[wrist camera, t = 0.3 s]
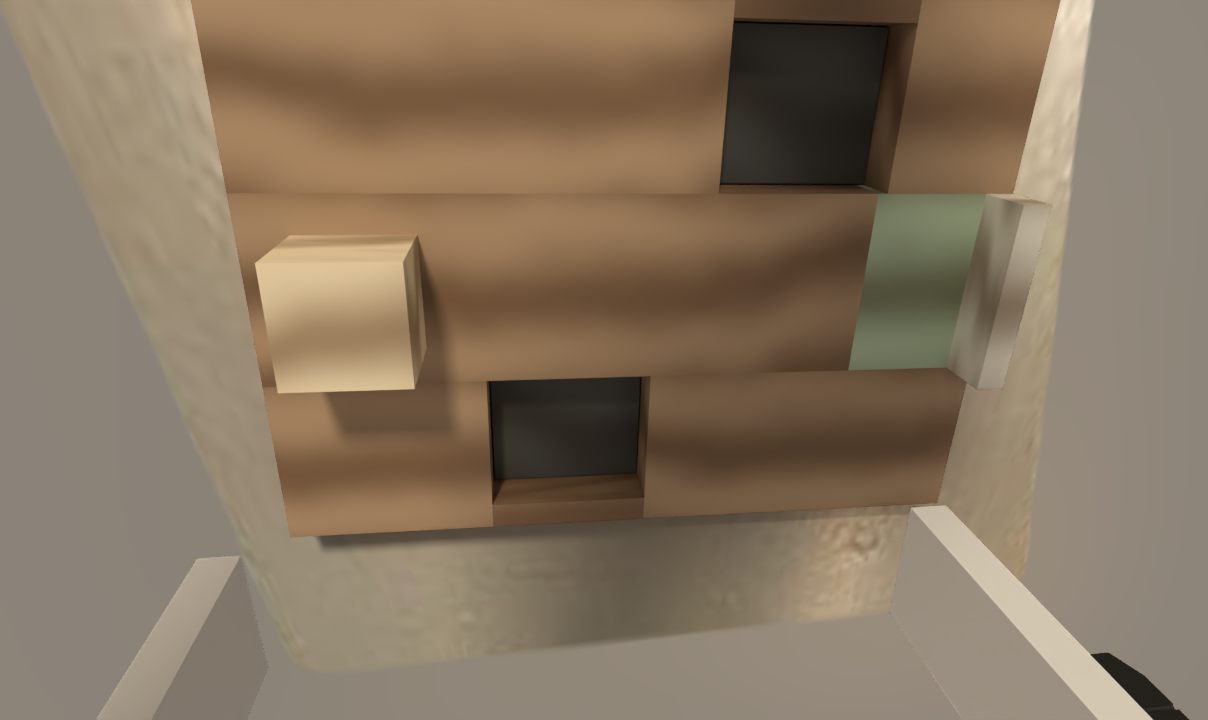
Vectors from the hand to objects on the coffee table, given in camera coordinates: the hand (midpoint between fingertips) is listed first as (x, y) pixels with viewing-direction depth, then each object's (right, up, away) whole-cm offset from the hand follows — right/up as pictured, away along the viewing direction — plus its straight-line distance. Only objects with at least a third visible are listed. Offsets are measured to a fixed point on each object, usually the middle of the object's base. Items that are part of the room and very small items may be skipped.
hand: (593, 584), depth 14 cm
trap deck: (+2, +9, +26) cm, 28 cm away
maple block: (-12, +8, +21) cm, 26 cm away
